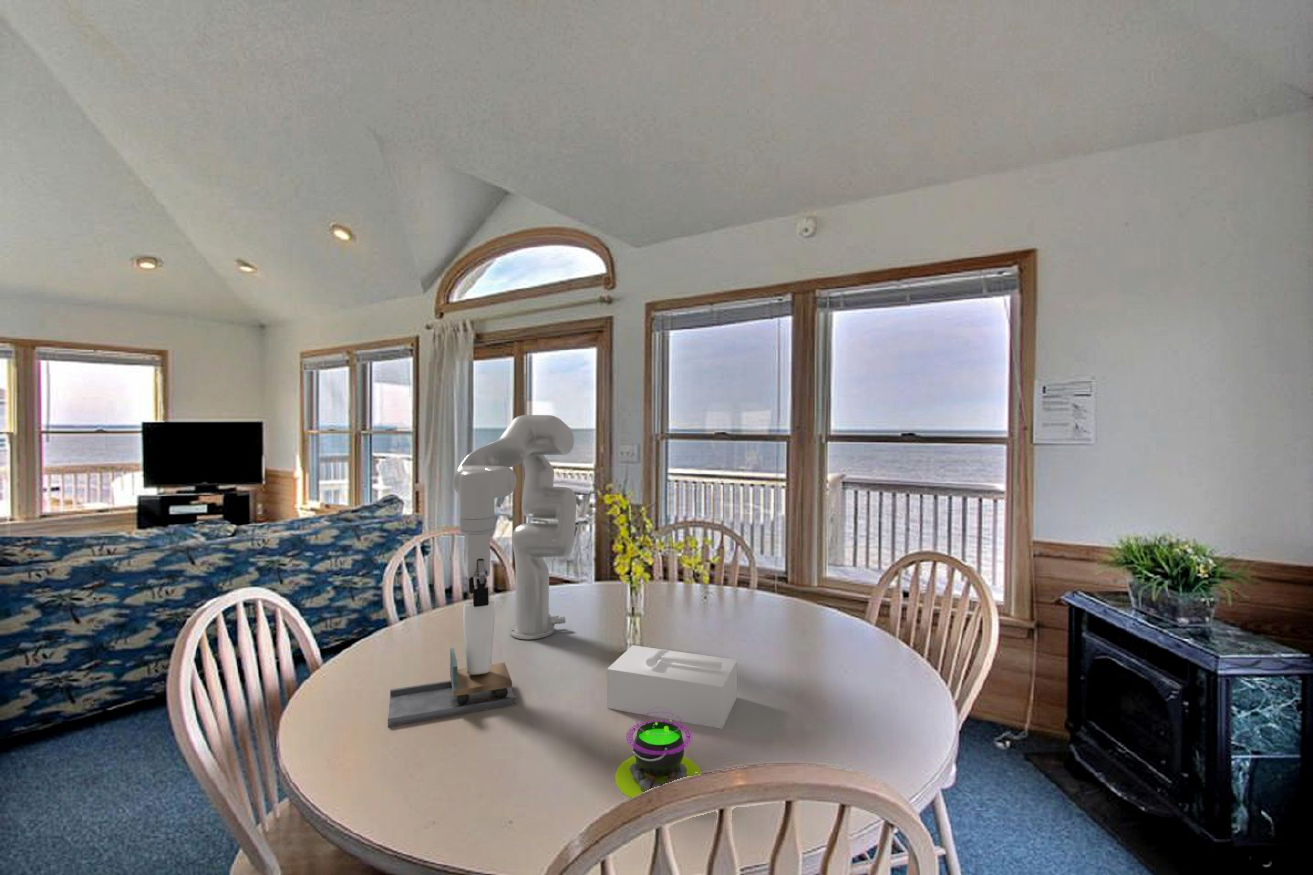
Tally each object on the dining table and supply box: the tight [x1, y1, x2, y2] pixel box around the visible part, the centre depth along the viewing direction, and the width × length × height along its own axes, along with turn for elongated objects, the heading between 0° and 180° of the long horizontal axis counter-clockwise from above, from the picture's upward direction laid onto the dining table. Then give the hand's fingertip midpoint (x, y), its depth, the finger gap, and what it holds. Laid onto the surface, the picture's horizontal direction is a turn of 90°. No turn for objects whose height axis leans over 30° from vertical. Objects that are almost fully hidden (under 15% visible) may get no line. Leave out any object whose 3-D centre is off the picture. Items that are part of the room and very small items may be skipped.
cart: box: [449, 647, 513, 705], centre depth 129 cm, size 12×11×9 cm
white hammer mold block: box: [606, 644, 738, 730], centre depth 127 cm, size 14×25×11 cm, turn 71°
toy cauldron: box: [614, 707, 703, 799], centre depth 100 cm, size 15×15×11 cm
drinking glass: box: [462, 600, 495, 675], centre depth 131 cm, size 7×7×15 cm
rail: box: [387, 679, 517, 728], centre depth 127 cm, size 25×14×2 cm, turn 113°
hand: (478, 598), depth 133 cm, fingers open, 9 cm apart
